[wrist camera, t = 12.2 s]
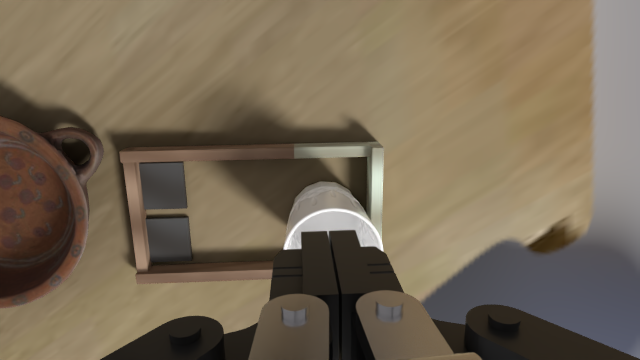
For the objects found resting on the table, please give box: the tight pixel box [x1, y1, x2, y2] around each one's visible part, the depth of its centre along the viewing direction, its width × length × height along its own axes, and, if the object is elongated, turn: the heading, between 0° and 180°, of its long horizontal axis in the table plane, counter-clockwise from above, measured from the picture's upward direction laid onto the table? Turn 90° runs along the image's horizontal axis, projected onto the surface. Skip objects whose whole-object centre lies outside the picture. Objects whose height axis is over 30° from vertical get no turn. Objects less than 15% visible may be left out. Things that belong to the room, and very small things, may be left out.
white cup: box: [283, 181, 383, 251], centre depth 40 cm, size 8×8×10 cm
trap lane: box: [119, 142, 384, 284], centre depth 43 cm, size 13×24×3 cm, turn 91°
